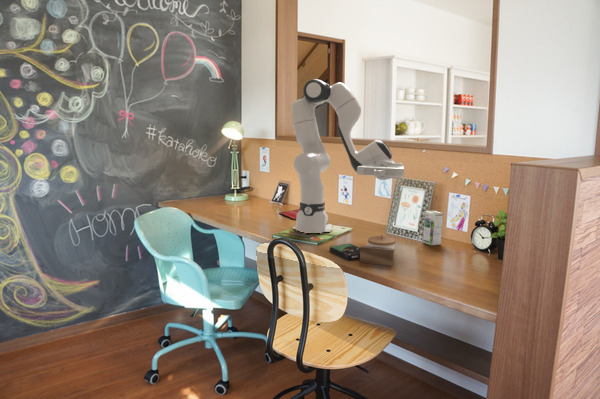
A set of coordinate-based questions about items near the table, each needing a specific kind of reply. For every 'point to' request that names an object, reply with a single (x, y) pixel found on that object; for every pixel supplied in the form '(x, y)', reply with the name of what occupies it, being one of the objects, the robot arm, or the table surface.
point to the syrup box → (433, 227)
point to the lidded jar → (381, 242)
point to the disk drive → (346, 251)
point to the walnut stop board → (376, 255)
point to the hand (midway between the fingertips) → (377, 172)
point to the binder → (290, 214)
